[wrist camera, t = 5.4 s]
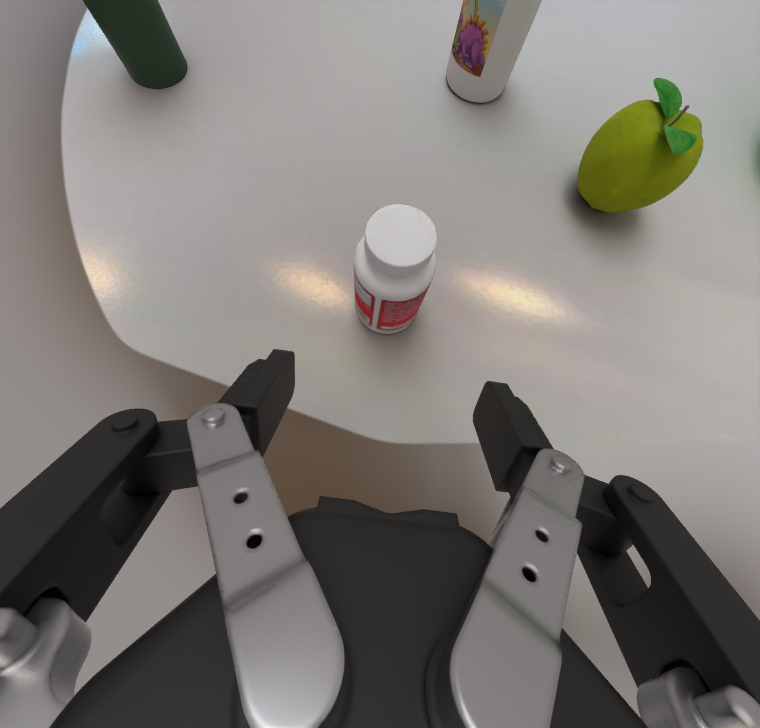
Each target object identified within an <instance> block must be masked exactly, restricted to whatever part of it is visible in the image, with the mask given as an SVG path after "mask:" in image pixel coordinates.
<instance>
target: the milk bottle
mask: <svg viewBox="0 0 760 728" xmlns="http://www.w3.org/2000/svg"><path fill="white" fill-rule="evenodd" d="M541 1H542V0H464V1H463V5H462V9H461V13H460V17H459V21H458V25H457V29H456V33H455V37H454V42H453V46H452V50H451V54H450V58H449V62H448V67H447V81H448V84H449V86H450V88H451V89H452V90H453V91H454V93H456V94H457V95H458V96H460V97H461V98H463V99H465V100H468V101H472V102H479V103H482V102H488V101H491V100H493V99H495V98H496V97H498V96H499V95H500V94H501V92H502V91H503V90H504V88H505V85H506V83H507V81H508V79H509V77H510V74H511V72H512V70H513V67H514V65H515V62H516V60H517V58H518V55H519V53H520V51H521V48H522V46H523V44H524V41H525V39H526V37H527V34H528V32H529V30H530V27H531V25H532V22H533V20H534V18H535V15H536V13H537V10H538V8H539V6H540V3H541Z"/></svg>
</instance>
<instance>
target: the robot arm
mask: <svg viewBox="0 0 760 728" xmlns="http://www.w3.org/2000/svg"><path fill="white" fill-rule="evenodd" d="M294 386H295V356H294V352H292V351H285V350H278V349H274V350H273V351H272V352H271V354H270V355H269V356H268V358H267V359H266V360H263V359H258V360H257V361H255V362H253V363H251V364H249V365H248V366H247V367H246V369H245V370H244V371H243V372H242V374H241V375H240V376H239V377H238V378H237V381H235V382H234V383H233V384H232V386H231V387H230V388H229V389H228V391H227V392H226V393H225V394H224V395H223V397H222V398H221V399H220V400H219V402H218V403H216V404H210V405H206V406H204V407H201V408H199V409H197V410H196V411H194V412H193V413H192V414H191V415H190V416H189V418H188V419H184V420H173V421H161V422H158V421H157V418H156V416H155V414H154V413H153V412H152V411H150V410H146V409H129V410H124V411H120V412H118V413H115V414H113V415H110V416H108V417H107V418H105V419H103V420H102V421H101V422H99V423H98V424H97V425H96V426H95V427H94V428H92V429H91V430H90V431H89V432H88V433H87V434H85V435H84V436H83V437H82V438H81V439H80V440H78V441H77V442H76V443H75V444H74V445H73V446H72V447H70V448H69V449H68V450H67V451H66V452H65V453H64V454H62V455H61V456H60V457H59V458H58V459H57V460H56V461H54V462H53V463H52V464H51V465H50V466H49V467H48V468H46V469H45V470H44V471H43V472H42V473H41V474H39V475H38V476H37V477H36V478H35V479H34V480H32V481H31V482H30V483H29V484H28V485H27V486H26V487H25V488H23V489H22V490H21V491H20V492H19V493H18V494H16V495H15V496H14V497H13V498H12V499H11V500H10V501H8V502H7V503H6V504H5V505H4V506H3V507H2V508H1V509H0V728H760V621H759V619H758V618H757V617H756V616H755V615H754V613H753V612H752V611H751V609H750V608H749V607H748V606H747V604H746V603H745V602H744V601H743V599H742V598H741V597H740V596H739V594H738V593H737V592H736V591H735V589H734V588H733V587H732V586H731V585H730V583H729V582H728V581H727V579H726V578H725V577H724V576H723V574H722V573H721V572H720V571H719V569H718V568H717V567H716V566H715V564H713V562H712V561H711V560H710V558H709V557H708V556H707V555H706V553H705V552H704V551H703V549H702V548H701V547H700V546H699V544H698V543H697V542H696V541H695V540H694V538H693V537H692V536H691V535H690V533H689V532H688V531H687V530H686V528H685V527H684V526H683V525H682V523H681V522H680V521H679V520H678V518H677V517H676V516H675V515H674V513H673V512H672V511H671V510H670V509H669V507H668V506H667V505H666V503H665V502H664V501H663V500H662V498H661V497H660V496H659V495H658V494H657V493H656V492H655V491H653V490H652V489H651V488H650V487H648V486H647V485H645V484H644V483H642V482H640V481H638V480H636V479H634V478H631V477H629V476H623V475H618V476H615V477H614V478H613V479H612V480H611V481H610V483H609V484H607V483H605V482H602V481H599V480H597V479H594V478H591V477H589V476H586V475H584V473H583V470H582V469H581V467H580V466H579V465H578V464H577V463H576V462H575V461H574V460H573V459H572V458H570V457H569V456H568V455H566V454H564V453H562V452H560V451H557V450H554V449H553V447H552V445H551V444H550V442H549V440H548V439H547V437H546V435H545V434H544V432H543V431H542V429H541V427H540V426H539V425H538V422H537V421H536V419H535V417H533V414H532V413H531V411H530V409H529V408H528V406H527V405H526V404H525V403H524V402H523V401H521V400H520V399H519V398H518V397H515V396H514V395H513V393H512V391H511V390H510V388H509V386H508V385H507V384H506V383H499V382H492V381H487V382H486V383H485V385H484V387H483V389H482V392H481V394H480V397H479V399H478V402H477V404H476V407H475V409H474V413H473V423H474V426H475V429H476V432H477V435H478V438H479V441H480V444H481V447H482V450H483V453H484V456H485V459H486V462H487V465H488V468H489V471H490V474H491V477H492V480H493V483H494V486H495V489H496V491H501V492H509V494H510V499H509V501H508V502H507V504H506V506H505V508H504V510H503V512H502V514H501V516H500V518H499V520H498V522H497V524H496V526H495V528H494V530H493V532H492V535H491V537H490V538H489V540H488V543H486V542H485V541H484V540H482V539H481V538H480V537H478V536H477V535H476V534H474V533H473V532H471V531H469V530H467V529H465V528H463V527H461V526H459V523H458V517H457V514H456V513H448V512H440V511H432V510H416V511H408V512H400V513H392V514H389V513H385V512H383V511H380V510H377V509H375V508H372V507H370V506H367V505H364V504H362V503H359V502H357V501H354V500H346V499H339V498H331V497H322V496H320V498H319V502H318V506H317V507H315V508H309V509H305V510H302V511H299V512H296V513H294V514H292V515H290V516H288V517H287V516H286V513H285V511H284V508H283V506H282V504H281V501H280V499H279V497H278V494H277V492H276V490H275V487H274V485H273V482H272V480H271V478H270V475H269V473H268V471H267V468H266V466H265V464H264V462H263V459H262V458H263V456H264V453H265V452H266V449H267V447H268V445H269V443H270V441H271V439H272V437H273V435H274V433H275V431H276V429H277V427H278V425H279V423H280V421H281V419H282V416H283V415H284V413H285V410H286V408H287V406H288V404H289V402H290V400H291V398H292V396H293V392H294ZM196 486H199V491H200V496H201V501H202V506H203V511H204V516H205V520H206V525H207V530H208V535H209V540H210V545H211V550H212V555H213V559H214V564H215V570H216V574H215V575H214V576H213V577H212V578H210V579H209V580H208V581H207V582H206V583H204V584H203V585H202V586H201V587H200V588H198V589H197V590H196V591H195V592H194V593H192V594H191V595H190V596H189V597H188V598H187V599H185V600H184V601H183V602H182V603H180V604H179V605H178V606H177V607H176V608H175V609H173V610H172V611H171V612H170V613H169V614H167V615H166V616H165V617H164V618H162V619H161V620H160V621H159V622H158V623H157V624H155V625H154V626H153V627H152V628H150V629H149V630H148V631H147V632H146V633H144V634H143V635H142V636H141V637H140V638H138V639H137V640H136V641H135V642H134V643H132V644H131V645H130V646H129V647H128V648H126V649H125V650H124V651H123V652H122V653H120V654H119V655H118V656H117V657H116V658H114V659H113V660H112V661H111V662H110V663H108V664H107V665H106V666H105V667H104V668H102V669H101V670H100V671H99V672H98V673H97V674H95V676H93V677H92V678H91V679H90V680H89V681H88V682H87V683H86V684H85V685H84V686H83V687H82V688H81V689H80V690H79V691H78V692H77V694H76V695H75V696H74V689H75V684H76V680H77V677H78V673H79V671H80V669H81V667H82V665H83V663H84V661H85V659H86V657H87V655H88V652H89V649H90V645H91V631H90V628H89V626H88V625H87V624H86V621H87V620H88V618H89V616H90V615H91V613H92V612H93V610H94V609H95V607H96V606H97V604H98V603H99V601H100V600H101V598H102V596H103V595H104V594H105V592H106V590H107V589H108V588H109V586H110V584H111V583H112V581H113V580H114V578H115V577H116V575H117V574H118V572H119V571H120V569H121V568H122V566H123V564H124V563H125V562H126V560H127V559H128V557H129V556H130V554H131V552H132V551H133V549H134V548H135V546H136V545H137V543H138V542H139V540H140V539H141V537H142V536H143V534H144V532H145V531H146V530H147V528H148V526H149V525H150V523H151V522H152V520H153V519H154V517H155V516H156V514H157V513H158V511H159V510H160V508H161V507H162V505H163V504H164V502H165V500H166V499H167V498H168V496H169V494H170V493H171V492H172V490H177V489H183V488H190V487H196ZM632 545H634V546H635V548H636V549H637V551H638V553H639V554H640V556H641V558H642V559H643V561H644V562H645V564H646V566H647V567H648V569H649V572H650V575H651V585H650V587H649V588H648V587H647V586H646V584H645V582H644V580H643V579H642V577H641V576H640V574H639V572H638V570H637V569H636V567H635V565H634V563H633V562H632V560H631V558H630V557H629V555H628V553H627V552H626V550H627V549H629V548H630V547H631V546H632ZM576 553H577V554H578V556H579V558H580V560H581V562H582V565H583V567H584V569H585V571H586V574H587V575H588V578H589V580H590V583H591V585H592V587H593V589H594V591H595V594H596V596H597V598H598V600H599V603H600V605H601V607H602V609H603V611H604V614H605V616H606V618H607V620H608V623H609V625H610V627H611V629H612V632H613V634H614V636H615V638H616V640H617V643H618V645H619V647H620V649H621V652H622V653H623V656H624V658H625V660H626V663H627V665H628V667H629V669H630V672H631V674H632V676H633V678H634V681H635V683H636V685H637V687H638V691H637V705H638V709H639V713H640V716H641V717H639V716H638V715H637V714H636V713H635V711H634V710H633V709H632V708H631V707H630V706H629V705H628V704H627V702H626V701H625V700H624V699H623V698H622V697H621V695H620V694H619V693H618V692H617V691H616V690H615V689H614V687H613V686H612V685H611V684H610V683H609V682H608V680H607V679H606V678H605V677H604V676H603V675H602V674H601V672H600V671H599V670H598V669H597V668H596V667H595V666H594V664H593V663H592V662H591V661H590V660H589V659H588V658H587V656H586V655H585V654H584V653H583V652H582V650H581V649H580V648H579V647H578V646H577V645H576V644H575V643H574V641H573V640H572V639H571V638H570V637H569V635H568V634H567V633H566V632H565V631H564V630H563V629H562V623H563V618H564V612H565V608H566V603H567V597H568V593H569V588H570V583H571V578H572V573H573V568H574V563H575V558H576Z"/></svg>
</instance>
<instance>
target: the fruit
mask: <svg viewBox="0 0 760 728" xmlns="http://www.w3.org/2000/svg"><path fill="white" fill-rule="evenodd" d="M654 86H655V88H656V90H657V92H658V96H659V101H660V102H654V101H652V100H642V101H638V102H635V103H632V104H630V105H629V106H627V107H625V108H623V109H622V110H620V111H619V112H617V113H616V114H615V115H613V116H612V117H611V118H610V119H609V120H607V121H606V122H605V123H604V124H603V125H602V126H601V128H600V129H599V130H598V131H597V132H596V134H595V135H594V136H593V138H592V139H591V141H590V142H589V144H588V146H587V148H586V150H585V152H584V154H583V157H582V160H581V163H580V167H579V172H578V189H579V192H580V194H581V196H582V197H583V198H584V199H585V200H586V201H587V202H588V203H589V205H590V206H591V208H593V209H598V210H602V211H605V212H608V213H615V212H624V211H630V210H634V209H638V208H642V207H645V206H648V205H651V204H653V203H655V202H657V201H659V200H660V199H662V198H664V197H665V196H667V195H668V194H670V193H671V192H672V191H674V190H675V189H676V188H678V187H679V186H680V185H681V184H682V183H683V182H684V181H685V180H686V179H687V178H688V176H689V175H690V174H691V173H692V171H693V170H694V168H695V166H696V165H697V163H698V160H699V158H700V156H701V153H702V149H703V138H702V124H701V121H700V120H699V119H698V117H696V116H694V115H692V114H689V113H686V112H685V111H686V110H687V109H688V108H689V105H687V106H686V107H685V108H684V109H683V111H681V110H679V108H680V107H681V104H682V97H681V93H680V91H679V89H678V88H677V86H676V85H675V84H673V83H672V82H670V81H668V80H666V79H662V78H656V79H654Z"/></svg>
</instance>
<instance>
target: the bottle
mask: <svg viewBox="0 0 760 728" xmlns="http://www.w3.org/2000/svg"><path fill="white" fill-rule="evenodd" d="M83 1H84V3H85V5H86V6H87V8H88V9H89V11H90V12H91V14H92V16H93V17H94V19H95V20H96V22H97V23H98V25H99V27H100V28H101V30H102V31H103V33H104V34H105V36H106V38H107V39H108V41H109V42H110V44H111V45H112V47H113V49H114V50H115V52H116V53H117V55H118V57H119V58H120V60H121V61H122V63H123V64H124V66H125V68H126V69H127V71H128V72H129V74H130V75H131V77H132V78H133V79H134V80H135V81H136V82H137V83H139V84H140V85H142V86H145V87H149V88H165V87H169V86H172V85H174V84H176V83H177V82H179V81H180V80H181V79H182V78H183V77H184V76H185V74H186V71H187V63H186V60H185V58H184V56H183V54H182V52H181V50H180V47H179V45H178V43H177V41H176V39H175V37H174V34H173V32H172V30H171V28H170V26H169V24H168V22H167V19H166V17H165V15H164V13H163V11H162V9H161V6H160V4H159V2H158V0H83Z"/></svg>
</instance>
